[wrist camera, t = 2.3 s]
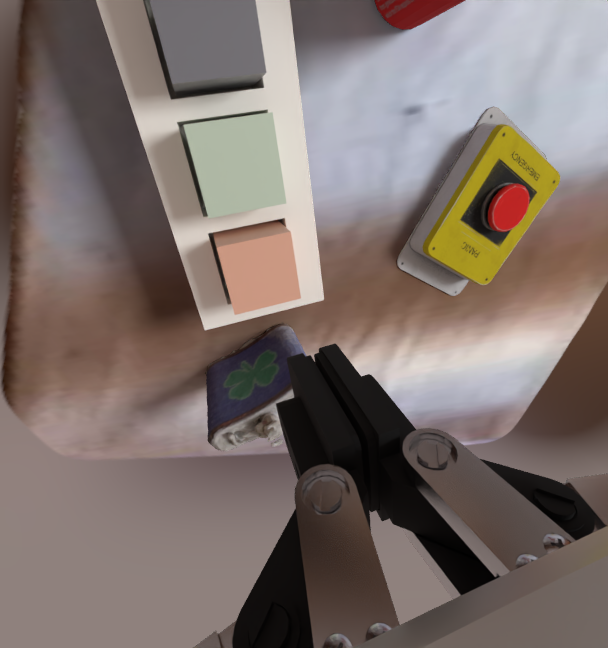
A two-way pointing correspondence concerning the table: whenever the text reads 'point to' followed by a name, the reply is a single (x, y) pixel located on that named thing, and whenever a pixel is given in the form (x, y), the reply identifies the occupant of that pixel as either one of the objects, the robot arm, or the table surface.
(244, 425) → the flask
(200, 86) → the charcoal key
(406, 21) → the soda can
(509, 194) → the emergency button
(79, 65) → the table surface
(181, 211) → the key block
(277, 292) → the terracotta key
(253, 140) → the sage key
